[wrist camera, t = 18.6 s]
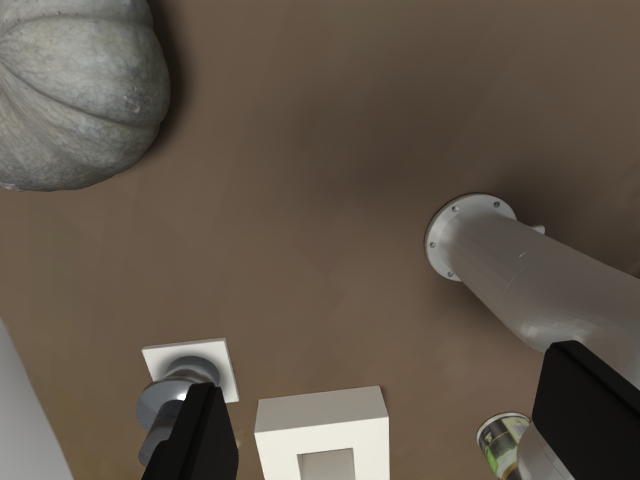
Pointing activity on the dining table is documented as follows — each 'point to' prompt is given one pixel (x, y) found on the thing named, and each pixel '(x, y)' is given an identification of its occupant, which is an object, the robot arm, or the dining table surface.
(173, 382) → the grey round knobbed piece
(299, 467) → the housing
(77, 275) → the dining table surface
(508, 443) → the coffee can
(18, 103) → the gourd
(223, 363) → the mat
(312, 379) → the dining table surface
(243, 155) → the dining table surface
